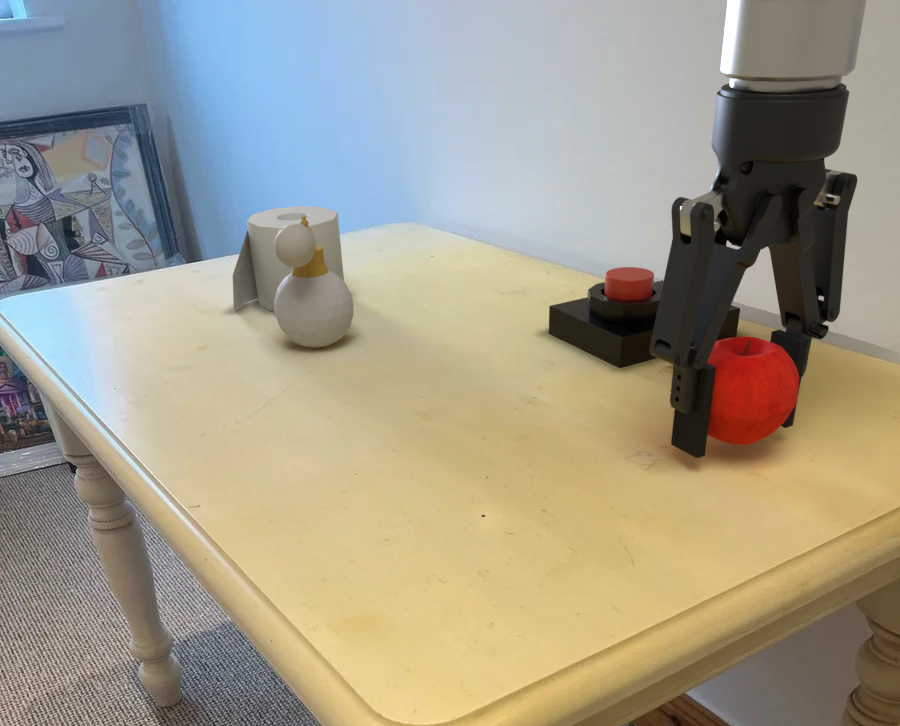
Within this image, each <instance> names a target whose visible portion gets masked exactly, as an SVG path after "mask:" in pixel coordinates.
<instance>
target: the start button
mask: <svg viewBox="0 0 900 726" xmlns="http://www.w3.org/2000/svg"><path fill="white" fill-rule="evenodd" d="M604 282H605V290H604V295H605V296H607V297H610V298H612V299H620V300H642V299H646V298H650V297H652V294H653V283H654V282H655V273H654V271H652V270H650V269H647V268H643V267H637V266H636V267H635V266H623V267H616V268H615V267H614V268H612V269H609V270H607V271H606V272H605V276H604Z"/></svg>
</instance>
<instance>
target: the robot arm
mask: <svg viewBox="0 0 900 726" xmlns="http://www.w3.org/2000/svg"><path fill="white" fill-rule="evenodd" d="M866 4H867V0H727V2H726V11H725V12H726V13H725V20H724V29H723V38H722V47H721V55H720V65H719V72H721V74H722V75H723V76H724V77H725V78H728V79H729V82H728V83H726V84H724V85H722V86H721V87H720V89H719V90H718V91H717V92H716V99H715V108H714V116H713V125H712V134H711V148H712V151H713V152H714V154H715V156H716V157H717V162H718V163H717V164H718V167H717V170H716V174H715V176H714V179H713V181H712V183H711V186H710V188H709V192H706V193H705V194H702V195H700V196H698V197H695V198H693V199H691V198H687V197H683V196H679V197H677V198H676V199H675V200H674V201H673V203H672V205H671V212H670V213H671V227H672V228H671V231H672V232H671V233H672V234H671V235H672V239H671V244H670V248H669V253H668V258H667V263H666V268H665V272H664V277H663V281H664V282H663V286H662V291H661V296H660V301H659V305H658V310H657V315H656V320H655V324H654V329H653V334H652V339H651V343H650V350H649V351H650V354H651V355H653V356H655V357H657V358H656V359H660V360H662V361H664V362H666V363H669V364H671V365H672V376H671V383H670V384H671V386H670V387H671V388H670V396H669V403H670V407H671V408H672V409H673V410H674V411H673V420H672V421H673V422H672V431H671V441H670V445H671V446H673V447H674V448H676V449H678V450H680V451H682V452H684V453H685V454H688V455H689V456H691V457H693V458H695V459H700V458H702V457H705V456H706V450H707V442H708V436H709V435H708V427H709V420H710V412H711V404H712V396H713V388H714V380H715V373H716V367H715V366H712V365H710V364H708V363H707V361H708V359H709V356H710V354H711V352H712V349H713V347H714V344H715V342H716V340H717V337H718V335H719V333H720V330H721V328H722V325H723V323H724V321H725V318H726V316H727V313H728V311H729V309H730V306H731V305H732V304H733V301H734V299H735V297H736V294H737V292H738V289H739V288H740V284H741V282H742V279H743V277H744V275H745V272H746V271H747V270H748V269H749V268H751V267H753V266H754V265H755V264H756V262H757V259H758V257H759V254H760V252H761V250H764V249H765V248H768V249H769V254H770V259H771V260H770V261H771V267H772V273H773V277H774V278H773V280H774V286H775V290H776V298H777V304H778V309H779V315H780V321H781V325H782V327H783V328H785V330H782V329H779V328H778V329H776V330H772V331H771V332H770V333H771V334H770V340H769V342H772V343H774V344H777V345H779V346H781V347H782V348H783V349H784V350H785V351H786V352H787V353H788V355H789V356H790V357H791V359H792V360H793V362H794V364H795V366H796V368H797V370H798V374H799V388H798V395H799V393H800V388H801V382H802V378H803V377H804V376H805V372H806V370H807V367H808V361H809V356H810V351H811V345H812V339H817V340H818V341H820V340H823V339H824V338H825V337H826V336H827V334H828V333H829V331H830V329H829V328H830V326H829V325H826V324H824V323H825V322H828V323H834V322H835V321H836V320H837V319H838V318H839V315H840V313H841V303H842V292H843V291H842V290H843V281H844V280H843V278H844V267H845V256H846V254H845V253H846V246H847V245H846V244H847V232H848V222H849V221H848V220H849V211H850V208H851V206H852V205H851V204H852V201H853V198H854V194H855V192H856V189H857V186H858V177H857V175H856V174H855V173H851V172H845V171H840V170H835V169H828V168H826V164H825V163H826V162H825V158H826V159H827V158H828V157H830V156H832V155H834V154H835V153H836V152H837V151H838V149H839V147H840V145H841V141H842V135H843V130H844V126H845V125H844V124H845V119H846V114H847V113H846V112H847V108H848V103H849V102H848V101H849V96H850V91H849V89H847V85H846V84H845V83H842V79H843V77H846V76H849V75H850V74H851V73H853V71H854V70H855V69H856V63H857V58H858V52H859V47H860V40H861V35H862V29H863V24H864V23H863V22H864V16H865V9H866ZM727 243H730V244H731V245H732V246H735V247H739V248H734V247H730V246H728V245H727ZM820 297H823V299H820ZM691 342H693V343H694V345H695V346H694V348H693V347H691ZM797 404H798V401H797V402H796V404H795V407H794V408H793V410H792V411H791V413H790V415H789V416H788V418H787V419H786V421H785V422H784V423H783V424H782V425H781V426H780V427H782V428H784V429H787V428H790V427H793V426H794V421H795V416H796V411H797V410H796V409H797V406H798V405H797Z"/></svg>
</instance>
